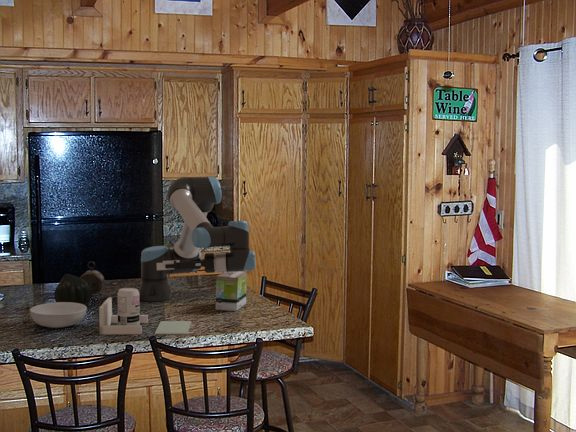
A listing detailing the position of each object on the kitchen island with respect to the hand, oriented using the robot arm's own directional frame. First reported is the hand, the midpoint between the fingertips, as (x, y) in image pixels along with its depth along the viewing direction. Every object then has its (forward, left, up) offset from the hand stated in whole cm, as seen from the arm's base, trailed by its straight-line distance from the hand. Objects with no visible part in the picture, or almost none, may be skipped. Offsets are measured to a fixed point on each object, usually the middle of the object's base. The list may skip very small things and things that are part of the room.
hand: (159, 265), depth 272 cm
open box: (-7, -11, -24) cm, 27 cm away
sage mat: (+6, +2, -24) cm, 25 cm away
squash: (-52, -6, -24) cm, 58 cm away
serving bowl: (-29, -26, -24) cm, 46 cm away
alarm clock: (-64, +11, -24) cm, 69 cm away
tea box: (-4, +42, -24) cm, 48 cm away
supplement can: (-6, -10, -24) cm, 27 cm away
